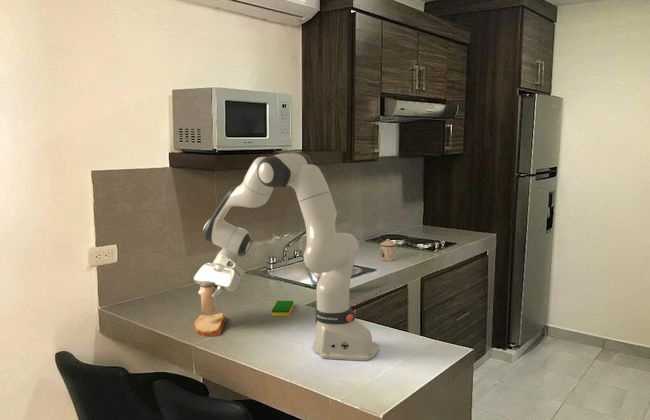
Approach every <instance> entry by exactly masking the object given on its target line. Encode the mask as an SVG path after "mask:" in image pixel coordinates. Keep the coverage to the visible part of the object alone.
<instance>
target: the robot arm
mask: <svg viewBox="0 0 650 420" xmlns="http://www.w3.org/2000/svg"><path fill="white" fill-rule="evenodd" d="M286 187H291V188H292V189H293V190H294V191H295V194H296V198H297V201H298V204H299V207H300V212H301V214H302V217H303V221H304V225H305V232H306V234H305V235H306V244H305V245H306V246H305V250H304V253H303V261H304V264H305V267H306V268H307V269H308V270H309V271H310V272H312V273H314V274H320V277H319V280H318V281H317V284H316V308H315V313H314V314H315V315H314V318H315V324H316V326H315V334H314V335H315V336H314V341H313V345H312V350H313V351H314V352H315V353H316V354H318V355H319V356H320V357H321V358H322V359H327V360H328V359H329V360H346V361H347V360H348V361H364V362H365V361H369V360H372V359H373V358H375V357H376V355H378V352H379V351H380V348H379V344H378V343H377V342H375V341H373V337H372V334H371V331H370V329H369V328H368V327H366V326H365V325H363V324H362V323H361V322H360V321H359V320H357V319H356V313H357V312H356V308H355V309H354V310H353V309H352V308H351V307H350V284H351V279H352V275H353V274H352V273H353V269H354V264H355V260H356V257H357V256H358V253H359V252H360V245H359V242H358V239H357V237H356V236H354V235H353V234H351V233H348V232H337V231H336V220H337V217H338V212H337V209H336V206H335V203H334V200H333V197H332V194H331V191H330V188H329V185H328V182H327V181H326V178H325V176H324V174H323V173H322V171H321V169H320V167H318V165H316V164H315V165H314V163H313V161H312V159H311V158H310V156H309V155H308V154H305V153H302V152H294V153H293V152H292V153H290V152H289V153H288V152H287V153H286V152H285V153H278V154H274V155H269V156H260V157H259V156H258V157H257V158H256V159H254V160H253V162H252V163H251V165H250V166H249V168H248V170H247V171H246V174H245V176H244V178H243V181H242V182H241V183H240V185H238V186H233V187H231V188H230V189H229V190H228V192H226V194H225V196H224V197H223V199H222V200H221V202H220V203H219V204H218V206H217V208H216V209H215V211H214V213H213V214H212V215H211V217H210V218H209V219H208V220H207V221H206V223H205V224H204V226H203V229H202V232H201V233H202V236H203V238H204V241H205V242H207V243H210V244H212V245H215V246H217V247H218V248H219V247H220V248H221V250H220V251H218V253H217V255H216V256H215V258H214V259H213V262H207V263H205V264H203V265H202V266H201V267H200V268H199V269H198V271H197V272H196V274H195V275H194V276H193V280H194V282H195V283H196V284H198V285H200V283H201V282H203V281H211V282H215V285H214V286H215V292H212V294H211V297H212V298H214V299H215V300H216V299H217V297H218V296H219V295H220V294H222V292H223V291H227V292H234V291H236V290H237V288H238V286H239V284H240V282H241V279H242V276H244V274H245V271H244V270H243V269H242V268H241V266H239V264H240V263H239V262H240V259H241V258H243V256H246V254H247V253H248V251H249V249H250V247H251V245H252V238H251V237H252V236H251V234H250V232H249V231H248V230H247V229H245V228H243V227H237V226H236V225H234V224H231V223H229V222H227V221H226V220H225V216H226V215H227V214H228V212H229V210H230V209H231V208H233V207H242V208H248V209H249V208H250V209H255V208H260V207H262V206H263V205H265V204H266V203H268V201H269V199H270V197H271V195H272V193H273V191H274V188H277V189H278V188H282V189H283V188H286ZM198 295H200V296H201V288H199V291H198Z"/></svg>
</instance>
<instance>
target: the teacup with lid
mask: <svg viewBox="0 0 650 420" xmlns="http://www.w3.org/2000/svg"><path fill="white" fill-rule="evenodd" d="M379 246H380V250H379V251H380V252H379V253H380V254H379V255H380V260H381V261H385V262H392V261H395V260H396V258H397V255H396V254H397V251H396V250H397V248H396V246H397V243H396V242H393V241H392V240H390V239H389V238H387V239H386V240H385V241H382V242H380V243H379Z"/></svg>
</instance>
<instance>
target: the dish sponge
mask: <svg viewBox="0 0 650 420" xmlns="http://www.w3.org/2000/svg"><path fill="white" fill-rule="evenodd" d="M293 305H294V300H276V302H275V304H274V306H273V308H272V309H271V316H272V317H289V316H290V314H291V313H292V311H293V308H294V306H293Z"/></svg>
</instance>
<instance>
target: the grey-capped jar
mask: <svg viewBox="0 0 650 420" xmlns="http://www.w3.org/2000/svg"><path fill="white" fill-rule="evenodd" d="M214 285H215V282H211V281H203V282H201V283H200V284H199V287H200V288H201V295H200V303H201V310H200V311H201V313H203V314H211V313H214V312H216V299H214V298H212V297H211V294H212V292H215V291H216V288H215V286H214ZM200 288H199V289H200Z"/></svg>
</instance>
